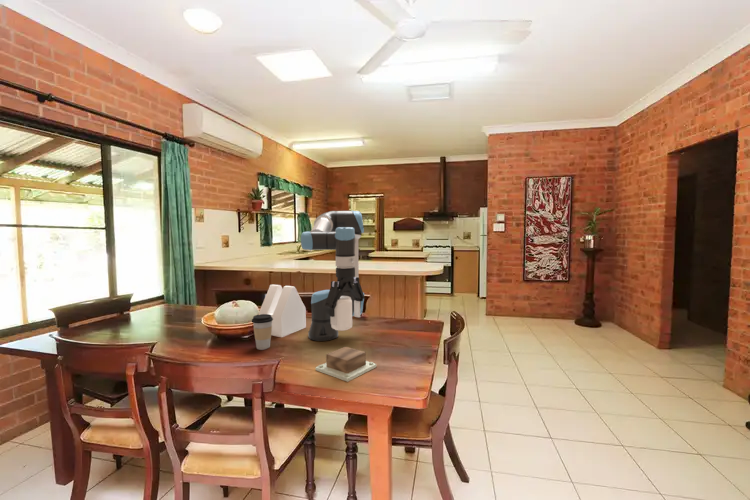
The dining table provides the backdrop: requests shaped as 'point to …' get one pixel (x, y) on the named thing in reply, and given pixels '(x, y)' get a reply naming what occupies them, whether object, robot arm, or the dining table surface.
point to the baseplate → (345, 376)
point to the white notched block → (284, 310)
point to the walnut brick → (346, 359)
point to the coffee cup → (262, 330)
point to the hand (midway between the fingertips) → (345, 320)
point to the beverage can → (343, 314)
